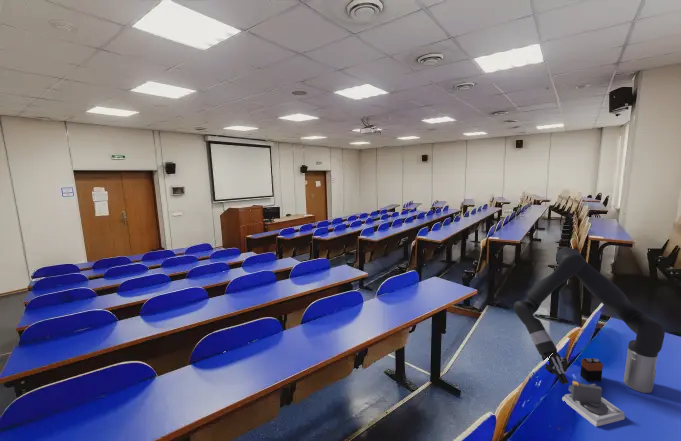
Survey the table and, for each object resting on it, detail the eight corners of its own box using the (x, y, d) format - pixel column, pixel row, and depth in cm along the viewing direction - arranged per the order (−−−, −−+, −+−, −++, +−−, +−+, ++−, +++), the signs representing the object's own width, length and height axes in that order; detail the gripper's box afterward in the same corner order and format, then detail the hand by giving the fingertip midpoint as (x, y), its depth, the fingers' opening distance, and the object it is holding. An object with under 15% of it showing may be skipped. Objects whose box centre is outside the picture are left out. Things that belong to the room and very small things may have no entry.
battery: (579, 375, 142) (581, 356, 141) (593, 375, 142) (596, 356, 141) (586, 381, 138) (588, 362, 136) (601, 381, 138) (603, 362, 136)
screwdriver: (574, 394, 131) (574, 389, 130) (568, 390, 133) (569, 385, 133) (598, 388, 134) (598, 383, 133) (592, 384, 136) (592, 379, 136)
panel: (588, 393, 131) (589, 387, 130) (624, 419, 117) (625, 412, 117) (562, 399, 128) (562, 393, 128) (595, 426, 115) (596, 419, 114)
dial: (600, 400, 125) (603, 380, 123) (612, 417, 116) (615, 396, 115) (567, 394, 129) (569, 375, 127) (576, 410, 120) (578, 390, 119)
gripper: (536, 342, 134) (558, 385, 124) (560, 338, 136) (584, 379, 126) (525, 346, 140) (546, 387, 130) (549, 342, 142) (571, 382, 132)
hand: (565, 383), depth 128 cm, fingers closed
